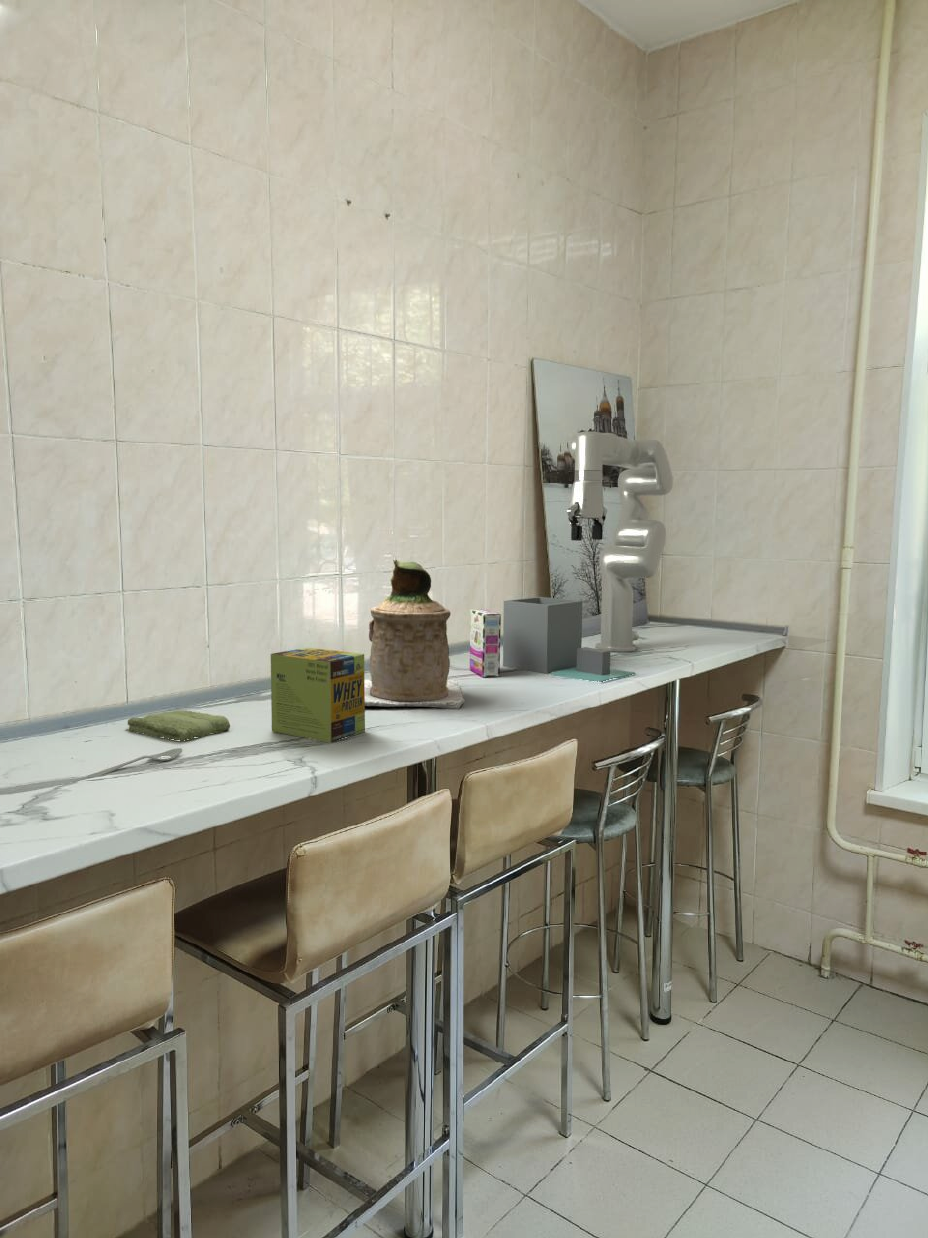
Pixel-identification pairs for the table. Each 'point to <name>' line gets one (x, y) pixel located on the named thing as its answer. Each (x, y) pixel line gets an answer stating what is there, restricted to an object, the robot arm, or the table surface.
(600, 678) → the lid
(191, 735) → the washcloth
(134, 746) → the table surface
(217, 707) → the table surface
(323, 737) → the protein box
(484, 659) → the candy bar box
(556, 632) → the bin
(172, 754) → the spoon
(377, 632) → the cookie jar
